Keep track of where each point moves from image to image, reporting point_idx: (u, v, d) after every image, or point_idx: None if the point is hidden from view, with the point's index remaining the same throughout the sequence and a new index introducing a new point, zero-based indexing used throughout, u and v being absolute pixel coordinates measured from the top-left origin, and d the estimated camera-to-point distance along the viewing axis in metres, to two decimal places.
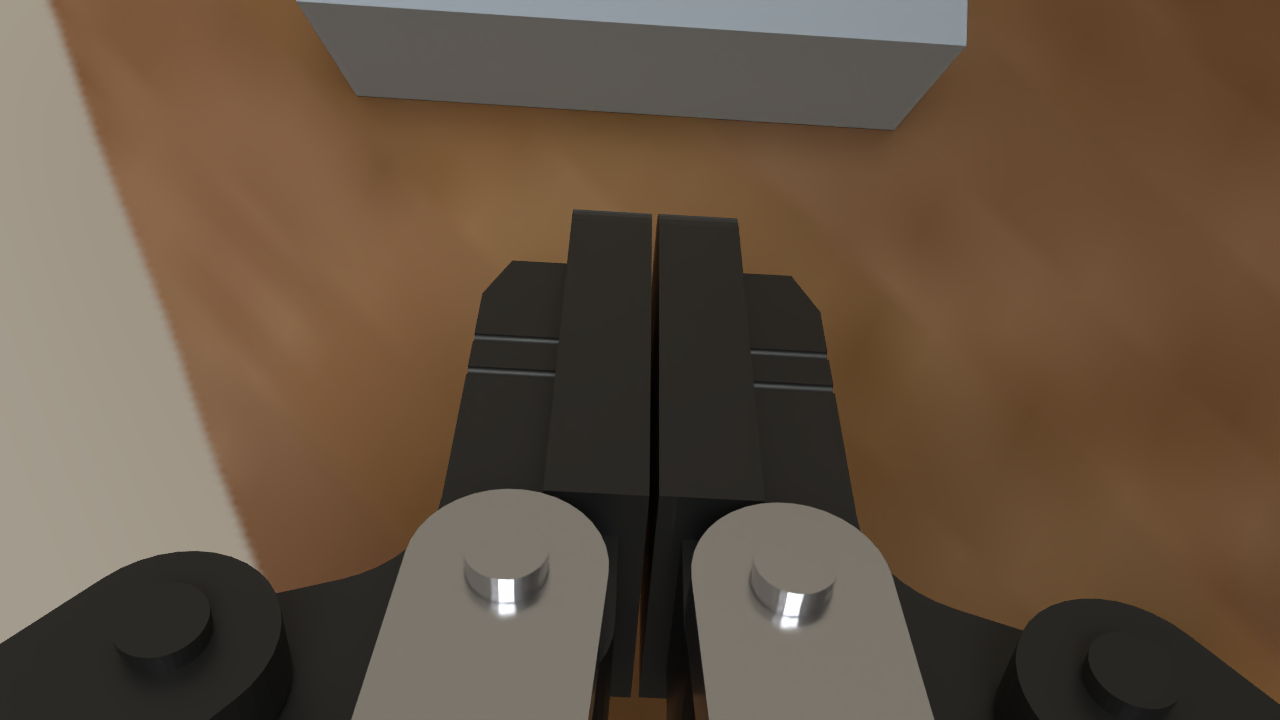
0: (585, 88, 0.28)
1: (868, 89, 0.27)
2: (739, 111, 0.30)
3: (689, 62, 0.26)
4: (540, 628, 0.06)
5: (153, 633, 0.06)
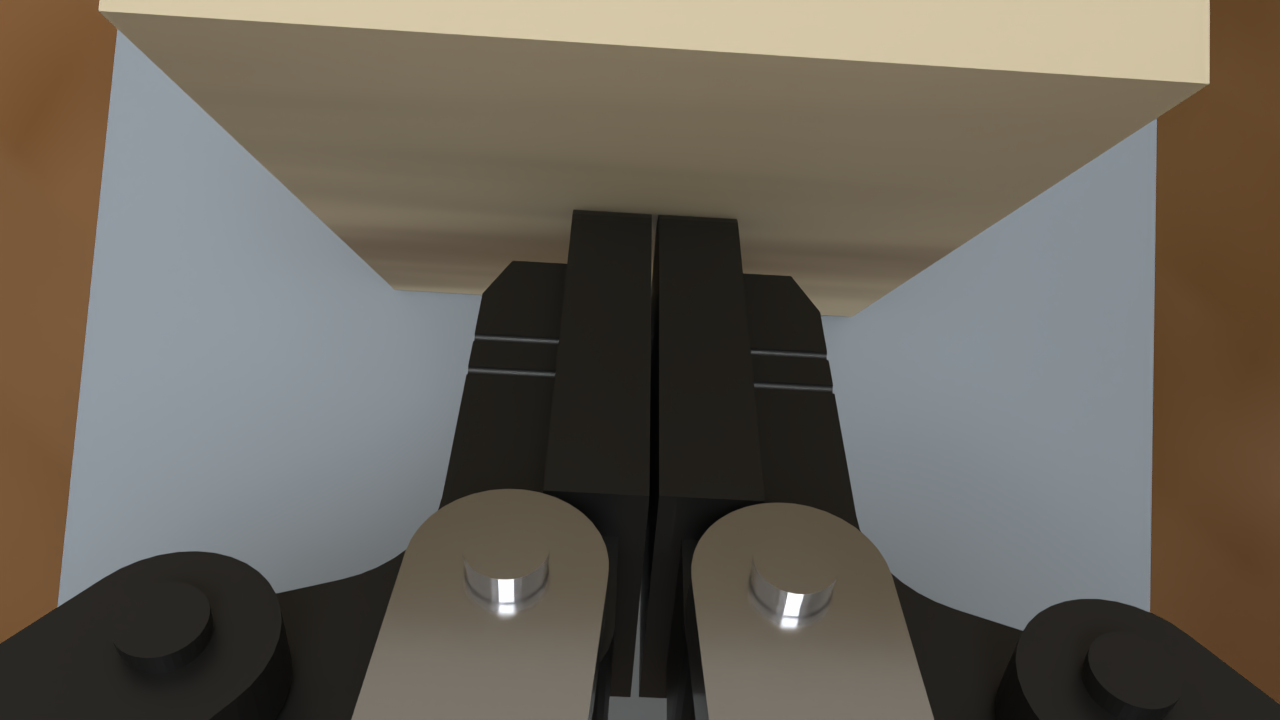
0: None
1: None
2: None
3: None
4: (540, 627, 0.06)
5: (153, 633, 0.06)
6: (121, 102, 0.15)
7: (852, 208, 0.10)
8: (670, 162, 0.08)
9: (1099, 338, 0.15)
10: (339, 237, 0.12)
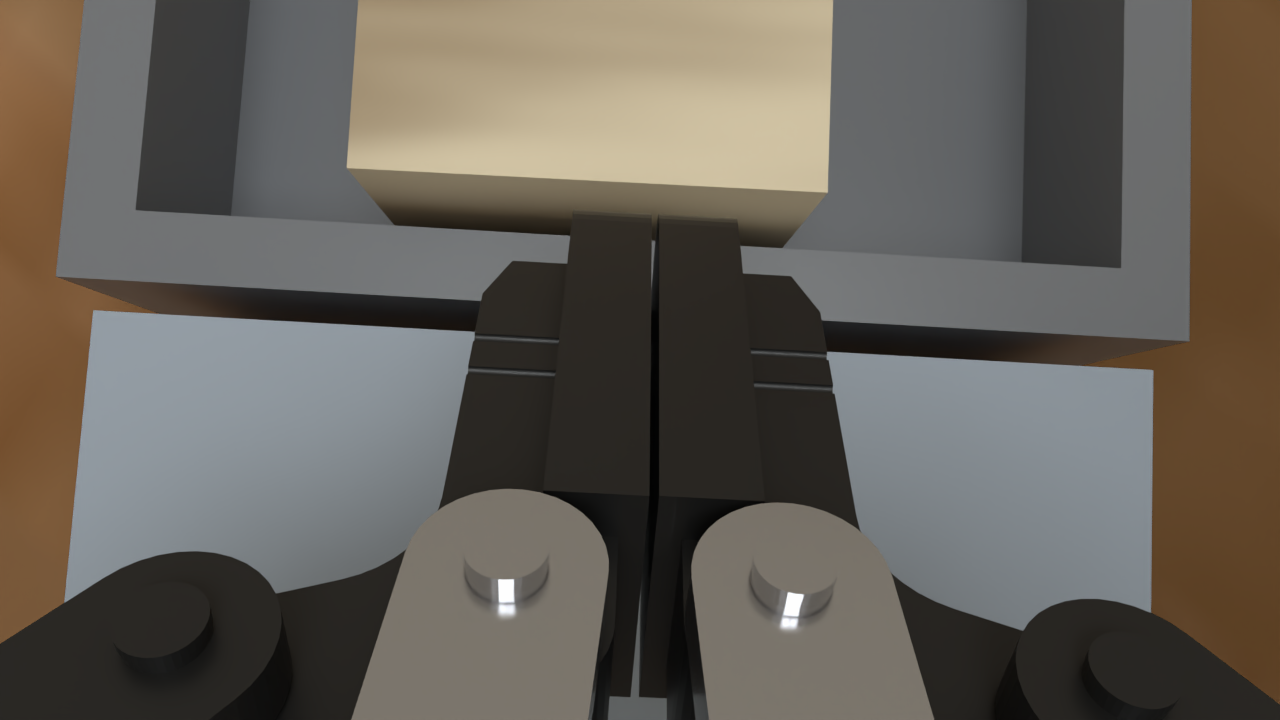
0: None
1: None
2: None
3: None
4: (541, 628, 0.06)
5: (153, 633, 0.06)
6: (81, 553, 0.15)
7: None
8: None
9: None
10: None
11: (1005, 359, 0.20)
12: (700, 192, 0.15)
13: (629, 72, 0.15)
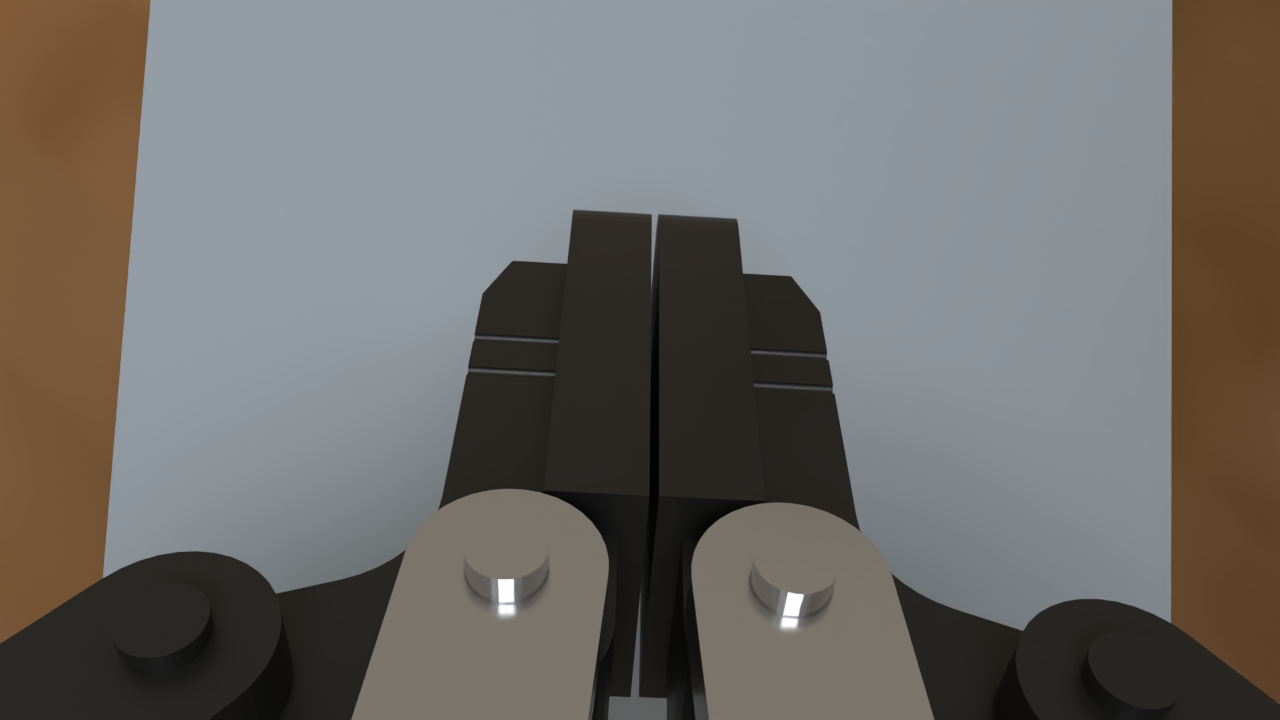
0: None
1: None
2: None
3: None
4: (540, 628, 0.06)
5: (153, 634, 0.06)
6: (155, 85, 0.16)
7: None
8: None
9: (1118, 302, 0.16)
10: None
11: None
12: None
13: None
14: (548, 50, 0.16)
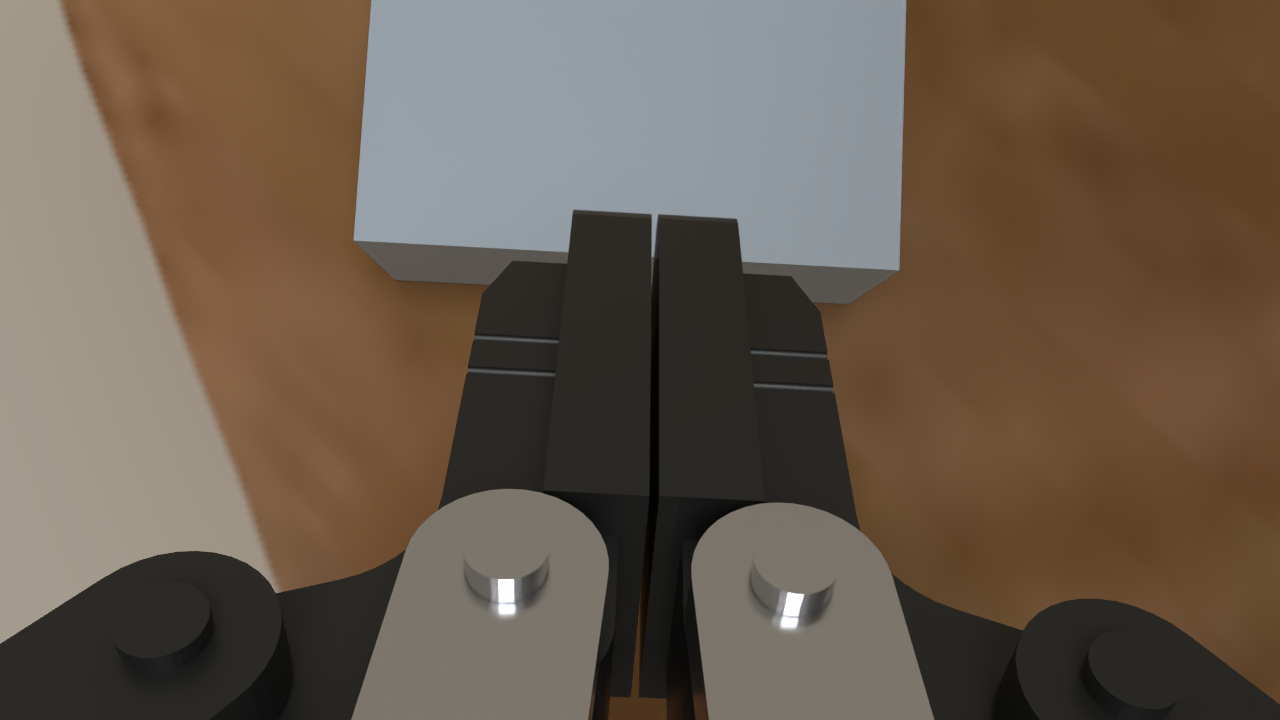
0: None
1: (823, 286, 0.33)
2: None
3: None
4: (541, 628, 0.06)
5: (153, 633, 0.06)
6: None
7: None
8: None
9: None
10: None
11: None
12: None
13: None
14: None
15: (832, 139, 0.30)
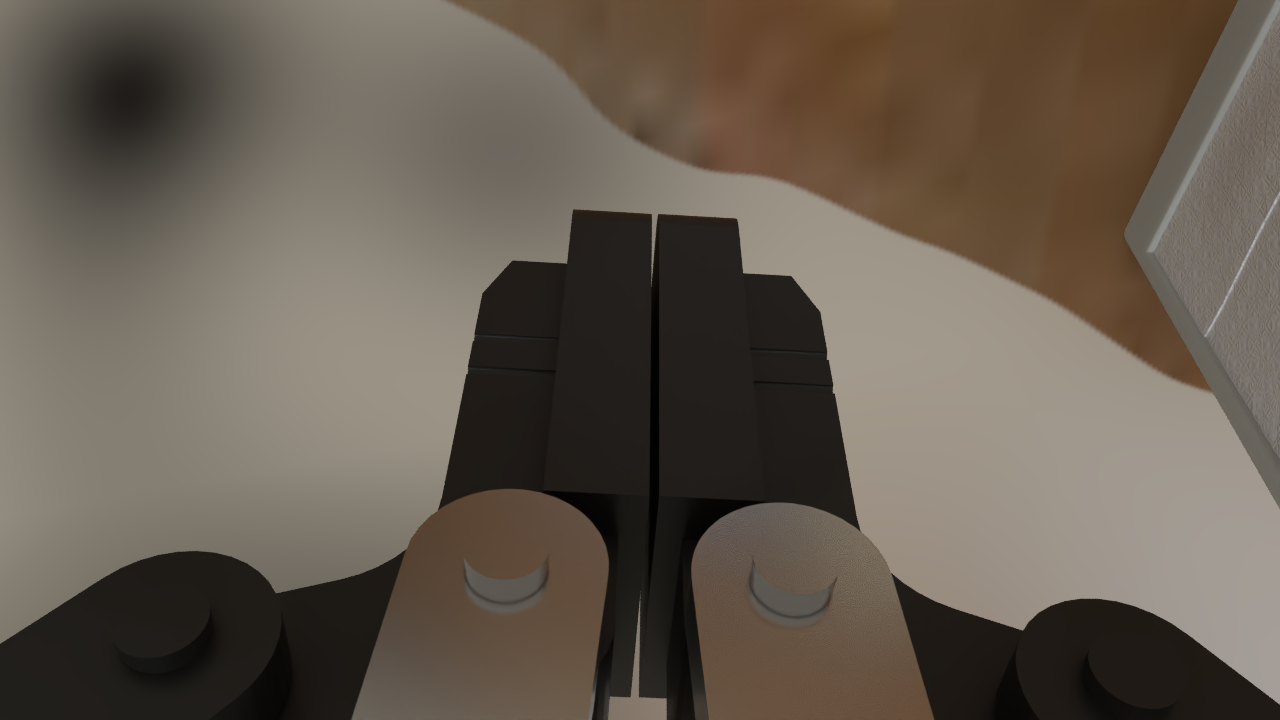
0: None
1: None
2: None
3: None
4: (540, 628, 0.06)
5: (154, 633, 0.06)
6: None
7: None
8: None
9: None
10: None
11: None
12: None
13: None
14: None
15: None
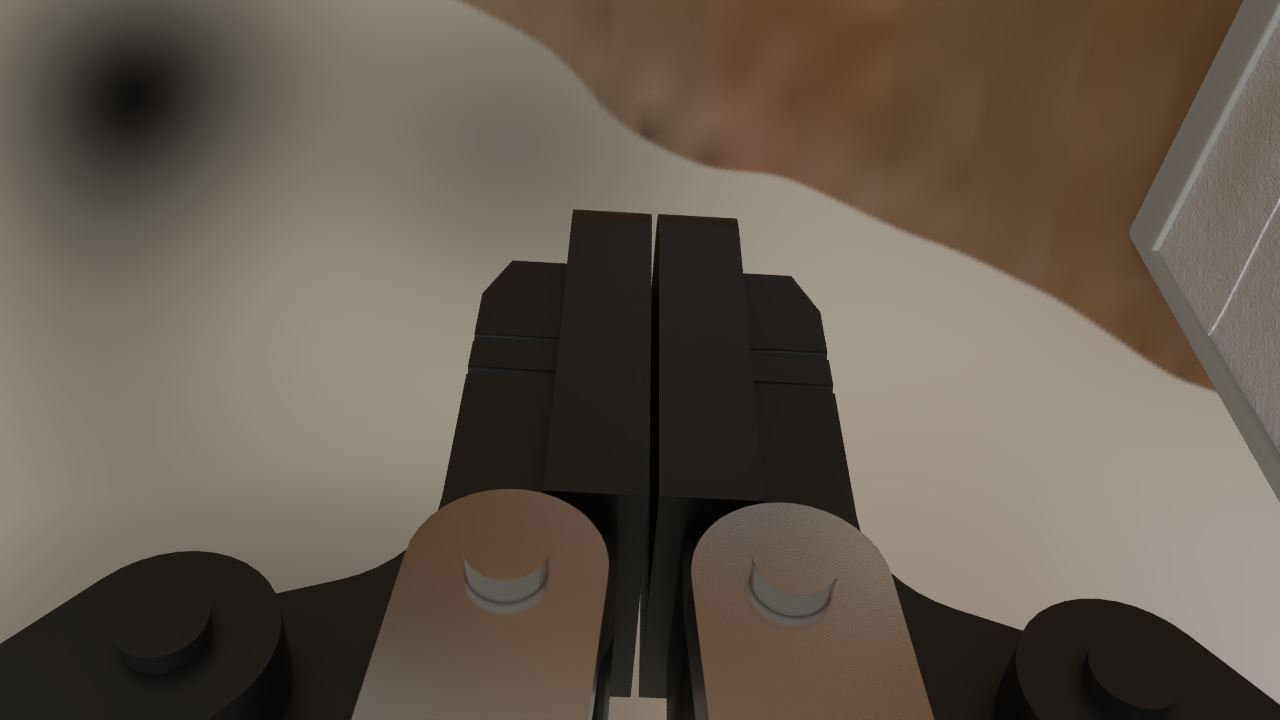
0: None
1: None
2: None
3: None
4: (540, 628, 0.06)
5: (153, 633, 0.06)
6: None
7: None
8: None
9: None
10: None
11: None
12: None
13: None
14: None
15: None
